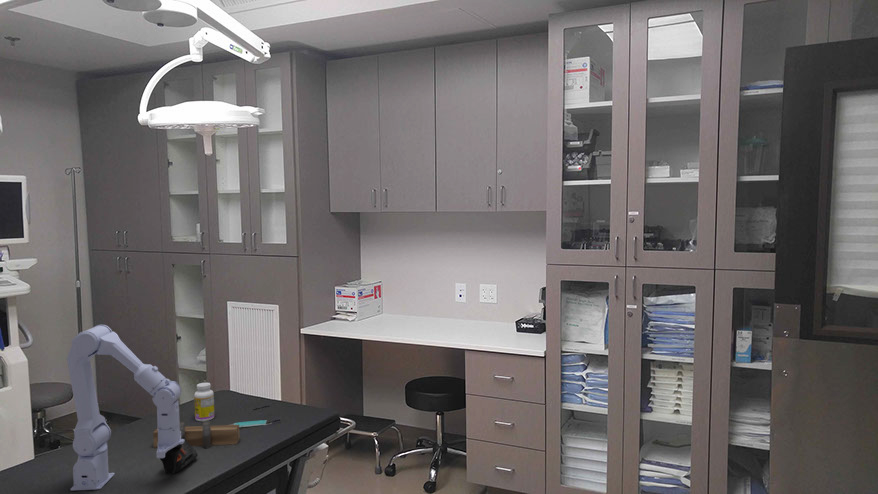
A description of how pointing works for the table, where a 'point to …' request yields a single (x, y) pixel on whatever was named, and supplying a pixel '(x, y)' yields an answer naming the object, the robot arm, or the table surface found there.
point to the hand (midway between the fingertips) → (170, 472)
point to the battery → (185, 455)
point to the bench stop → (206, 434)
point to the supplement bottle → (204, 402)
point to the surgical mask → (254, 422)
